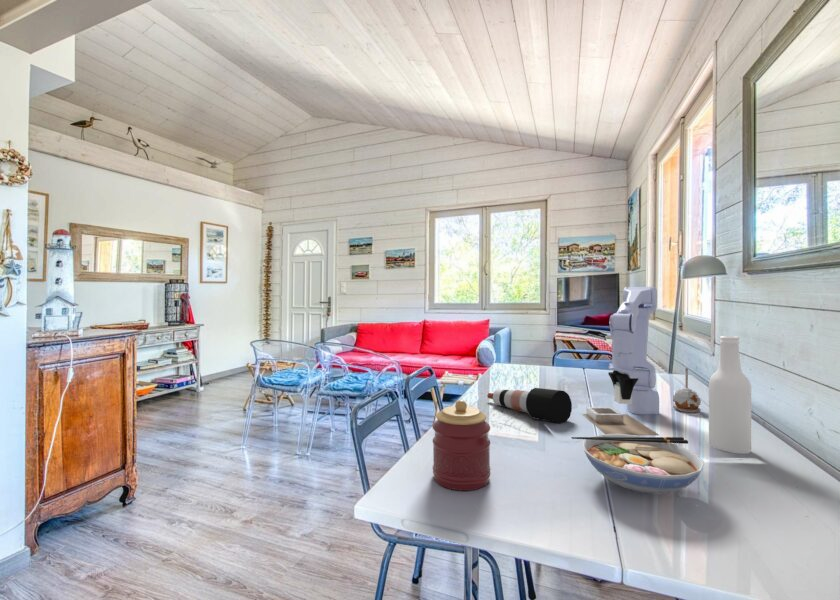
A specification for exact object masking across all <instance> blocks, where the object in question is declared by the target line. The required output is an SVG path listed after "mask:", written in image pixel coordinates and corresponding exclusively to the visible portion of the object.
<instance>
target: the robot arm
mask: <svg viewBox="0 0 840 600" xmlns="http://www.w3.org/2000/svg"><path fill="white" fill-rule="evenodd" d="M622 301H623V302H622V303H621V304H620V305H619V306H618V308H617V311H616V312H615V313H613V314H611V315H610V317H609V322H608V323H609V330H610V337H611V339H612V340H611V342H612V343H611V344H612V345H611V346H612V347H611V349H612V350H611V351H612V352H611V353H612V355H611V357H612V360H611V361H612V363H611V362H610V363H608V364H609V365H608V366H607V367H608V368H607V369H608V370H611V371H609V372H608V376H609V377H610V379H611V380H610V381H611V382H612V385H613V387H614V384H616V382H619V384H620V389H621V396H622V399H624V400H630V398H631V394H632V404H626V411H627V412H629V413H631V414H632V413H633V414H637V415H659V414H660V394H659V391H658V390H657V389H656V381H657V377H656V368H655V365H654V364H652V363H651V362H650V361H649V360H647V359H648V357H647V356H648V343H649V342H648V340H649V337H648V336H649V323H650V317H651V314H652V313H655V312H656V309H657V305H658V289H657V287H655V286H653V285H652V286H625V287H624V288H623V290H622Z"/></svg>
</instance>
